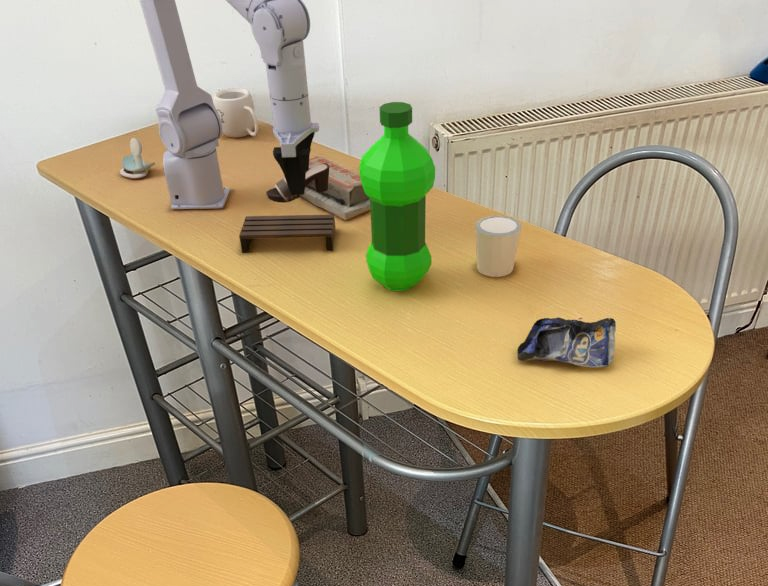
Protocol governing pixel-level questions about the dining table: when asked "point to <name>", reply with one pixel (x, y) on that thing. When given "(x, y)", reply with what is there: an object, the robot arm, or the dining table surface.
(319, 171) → the heeled mule
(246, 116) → the mug
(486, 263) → the shot glass
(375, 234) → the plastic bottle
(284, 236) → the slatted bench
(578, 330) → the snack package
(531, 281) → the dining table surface
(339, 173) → the packaged product
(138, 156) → the pacifier
